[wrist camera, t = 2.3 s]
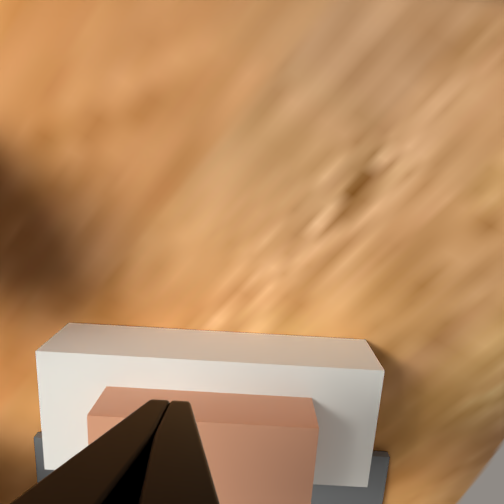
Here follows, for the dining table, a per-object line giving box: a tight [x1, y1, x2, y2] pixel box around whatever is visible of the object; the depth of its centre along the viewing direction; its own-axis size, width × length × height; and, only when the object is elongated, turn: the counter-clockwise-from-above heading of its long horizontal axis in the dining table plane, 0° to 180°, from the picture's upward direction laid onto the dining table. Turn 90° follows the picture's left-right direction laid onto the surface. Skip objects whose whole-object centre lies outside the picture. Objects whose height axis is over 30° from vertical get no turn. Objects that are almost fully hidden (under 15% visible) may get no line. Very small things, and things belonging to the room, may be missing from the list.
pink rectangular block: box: [87, 386, 319, 504], centre depth 16 cm, size 9×4×2 cm, turn 87°
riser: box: [36, 323, 385, 487], centre depth 19 cm, size 15×6×3 cm, turn 87°
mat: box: [34, 432, 390, 504], centre depth 21 cm, size 19×7×1 cm, turn 87°
